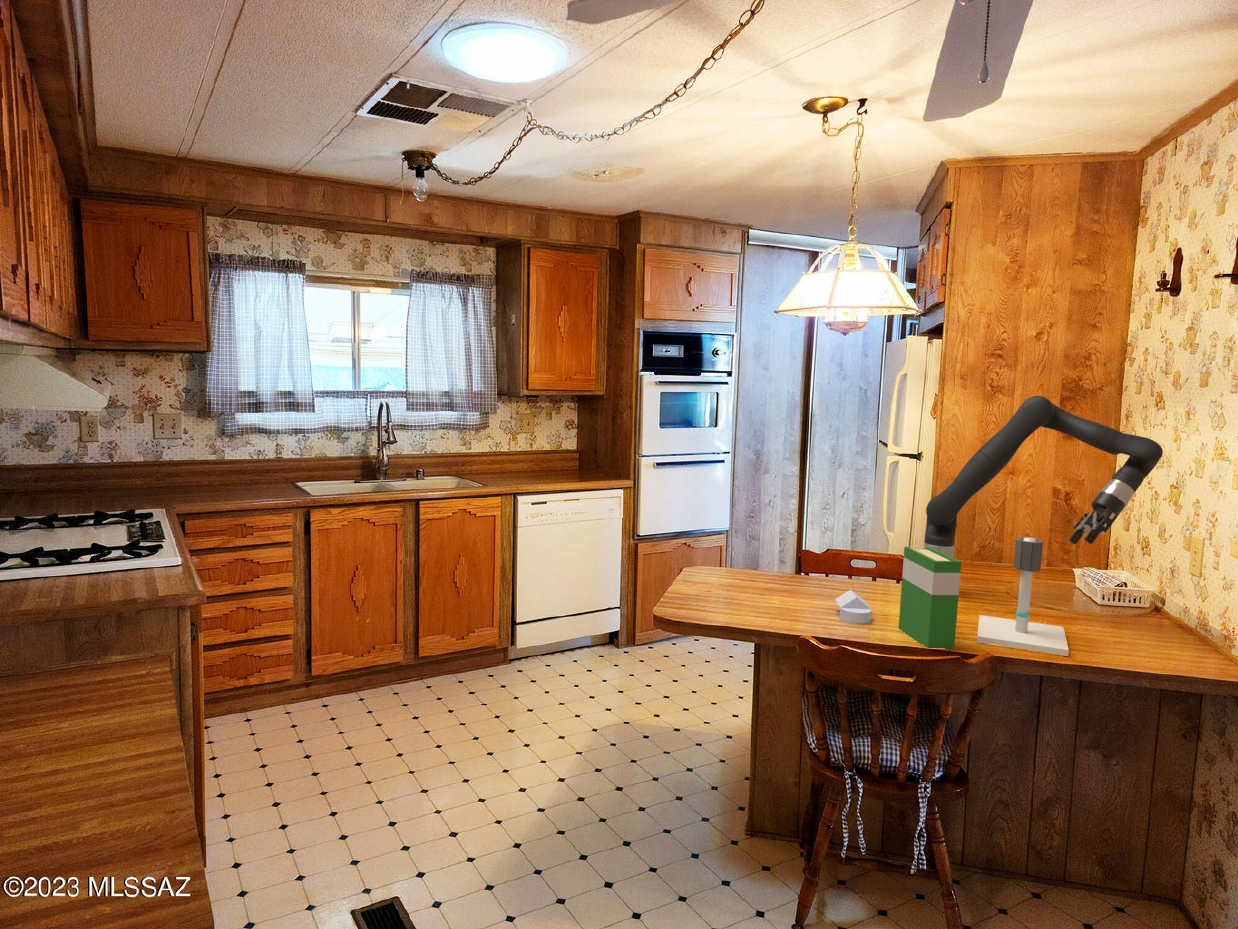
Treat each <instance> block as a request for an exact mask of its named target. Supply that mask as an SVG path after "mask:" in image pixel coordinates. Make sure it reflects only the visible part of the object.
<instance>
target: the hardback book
mask: <svg viewBox="0 0 1238 929" xmlns="http://www.w3.org/2000/svg"><path fill="white" fill-rule="evenodd" d="M903 550H904V551H903V563H902V564H903V565H902V576H901V590H900V593H901V594H900V600H899V601H900V604H899V605H900V606H899V616H898V617H899V618H898V629H899V630H900V631H901V630H902V631H901V632H903V633H904V632H905V633H906V635H907V634H908V635H909V636H908V635H907V636H908V637H910V638H911V637H912V638H913V639H912V638H911V639H912V640H914V641H915V640H916V641H917V642H916V641H915V642H916V643H918V644H919V643H920V644H923V645H924V646H925V647H927V648H945V649H954V650H955V646H956V645H955V643H956V633H957V622H958V621H957V619H958V609H959V598H960V597H959V596H960V583H961V582H960V581H961V573H962V571H961V570H962V560H959V559H956V558H954V557H953V558H952V557H950V556H948V555H946V554H944V553H942V552H940V551H937V550H935V549H933V548H931V547H926V549H924V548H923V549H916V548H915V549H914V548H911V547H910V546H904V549H903ZM905 633H904V634H905ZM920 644H919V645H920ZM925 647H924V648H925Z"/></svg>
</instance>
